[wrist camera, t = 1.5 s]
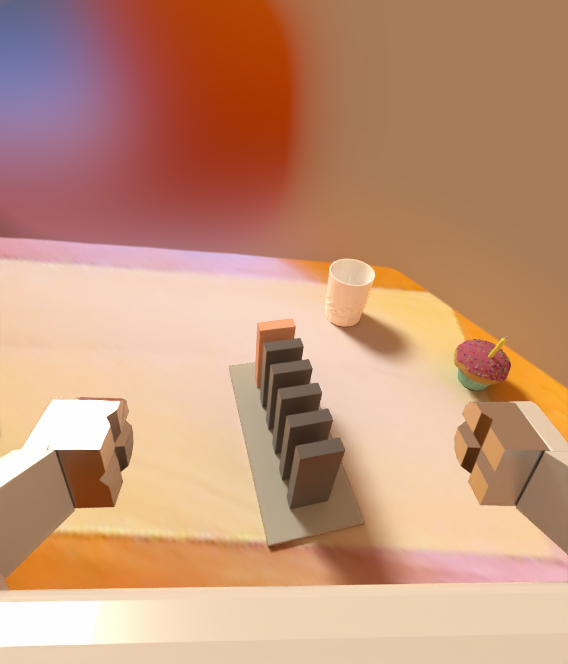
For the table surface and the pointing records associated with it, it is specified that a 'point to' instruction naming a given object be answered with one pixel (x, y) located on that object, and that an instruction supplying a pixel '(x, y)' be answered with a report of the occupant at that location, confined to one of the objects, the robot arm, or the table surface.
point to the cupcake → (481, 363)
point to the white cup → (348, 291)
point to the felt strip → (267, 478)
